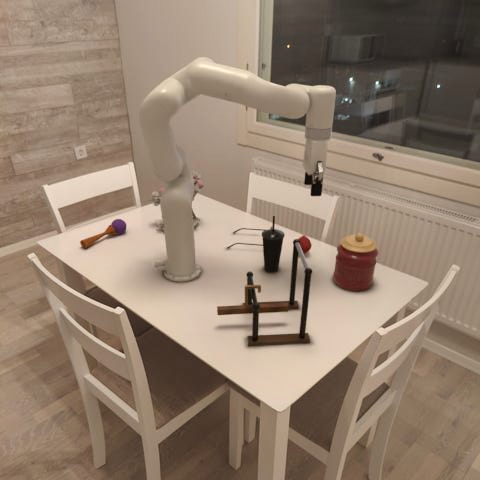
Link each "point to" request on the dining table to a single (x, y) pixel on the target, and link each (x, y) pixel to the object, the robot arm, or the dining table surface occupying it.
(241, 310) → the hanger
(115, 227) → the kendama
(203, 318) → the dining table surface
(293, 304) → the rack
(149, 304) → the dining table surface
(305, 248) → the red oval fruit
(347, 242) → the kitchen canister
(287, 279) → the dining table surface
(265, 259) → the drinking cup
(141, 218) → the dining table surface
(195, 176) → the flower
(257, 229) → the glasses
